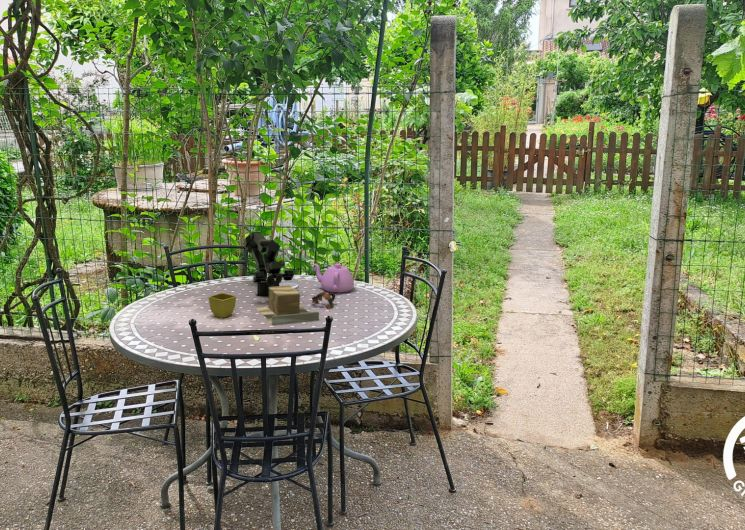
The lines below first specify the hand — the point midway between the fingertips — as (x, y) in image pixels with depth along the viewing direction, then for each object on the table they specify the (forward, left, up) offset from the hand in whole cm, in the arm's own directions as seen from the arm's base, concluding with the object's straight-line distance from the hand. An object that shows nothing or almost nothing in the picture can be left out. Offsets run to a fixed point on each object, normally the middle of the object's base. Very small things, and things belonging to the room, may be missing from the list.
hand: (277, 291), depth 303 cm
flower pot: (-15, -23, -7) cm, 29 cm away
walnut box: (+7, -7, -7) cm, 12 cm away
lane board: (+9, -9, -7) cm, 15 cm away
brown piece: (+19, +11, -7) cm, 23 cm away
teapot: (+11, +40, -7) cm, 42 cm away
